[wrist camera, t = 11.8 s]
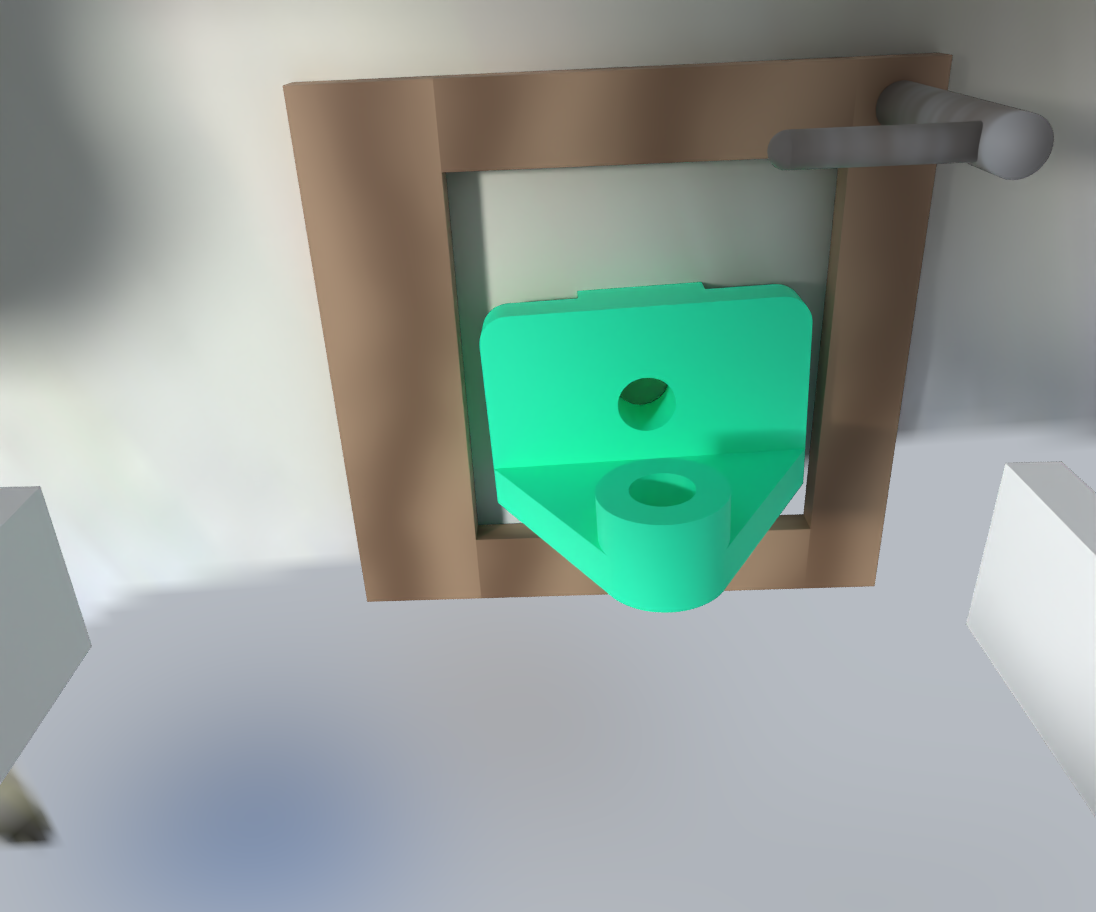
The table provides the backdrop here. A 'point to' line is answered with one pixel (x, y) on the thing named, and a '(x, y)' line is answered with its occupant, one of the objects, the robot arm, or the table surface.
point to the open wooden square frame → (596, 140)
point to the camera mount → (650, 430)
